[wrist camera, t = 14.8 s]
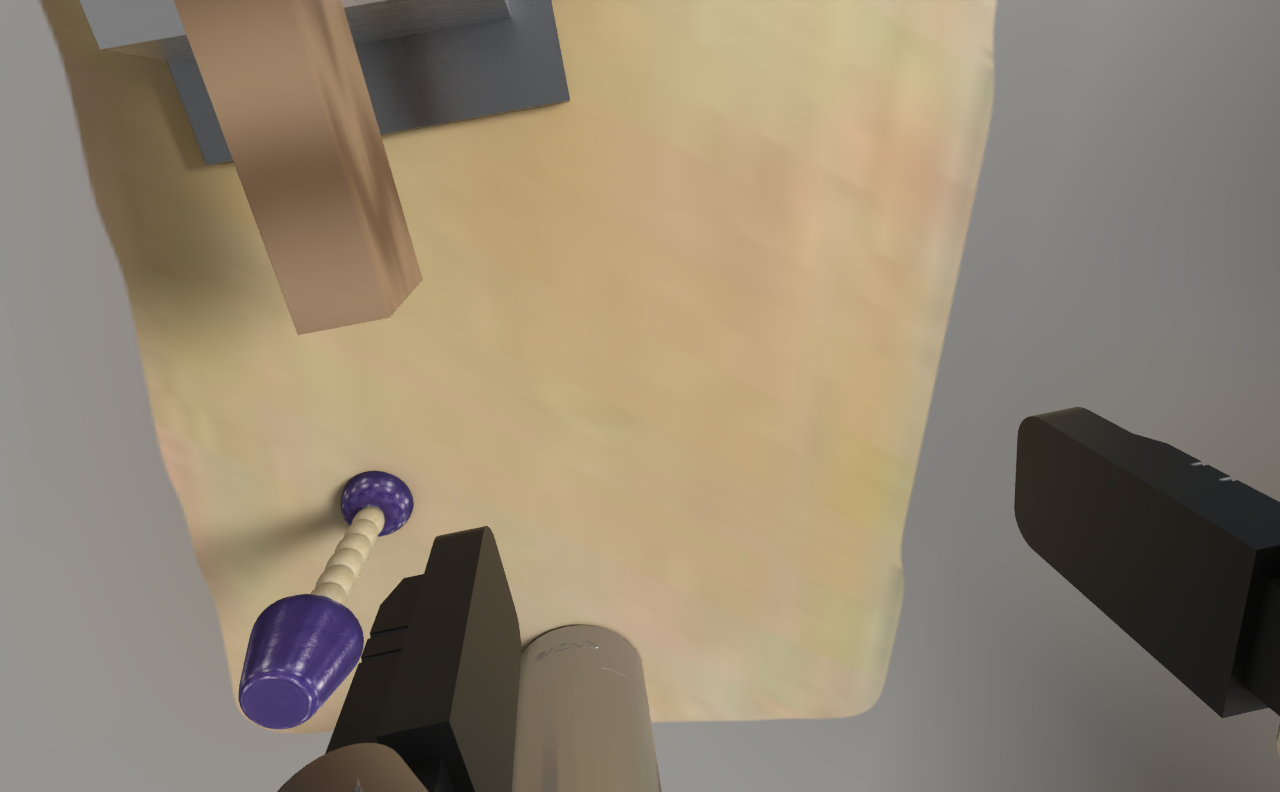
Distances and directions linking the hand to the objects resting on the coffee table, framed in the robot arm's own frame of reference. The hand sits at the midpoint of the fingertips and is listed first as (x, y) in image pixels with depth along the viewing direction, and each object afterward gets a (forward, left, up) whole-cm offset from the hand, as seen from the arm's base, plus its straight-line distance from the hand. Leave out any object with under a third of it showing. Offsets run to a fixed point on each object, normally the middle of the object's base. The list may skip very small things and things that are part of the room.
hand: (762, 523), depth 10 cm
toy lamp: (-13, +17, -30) cm, 37 cm away
